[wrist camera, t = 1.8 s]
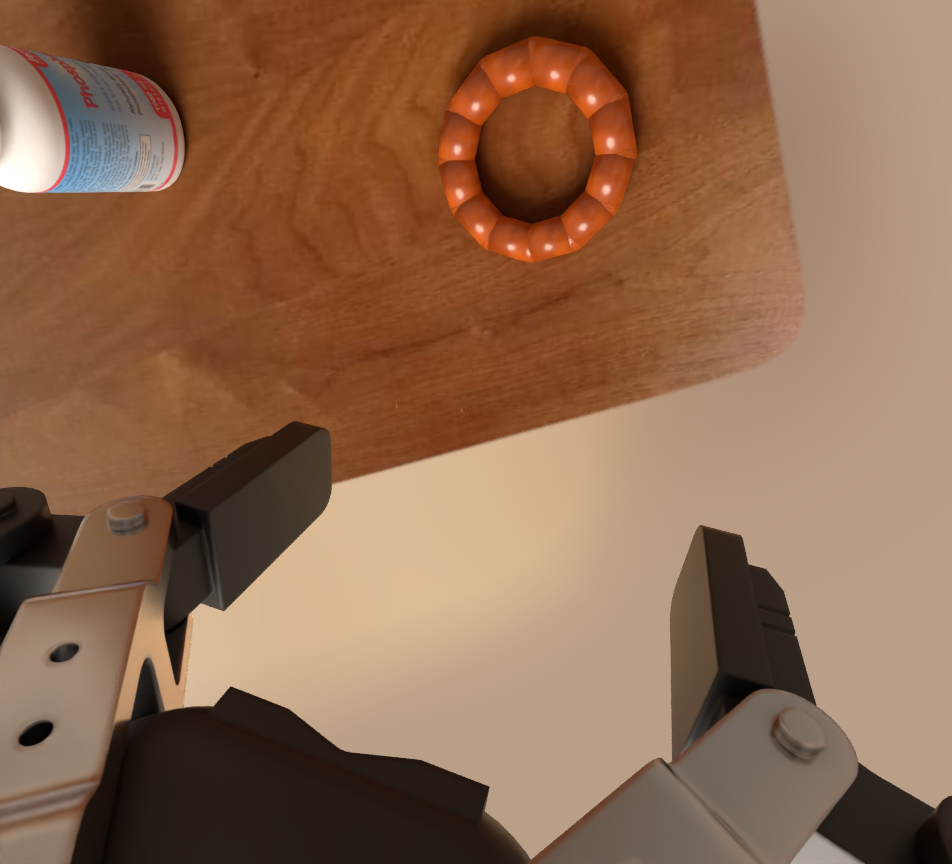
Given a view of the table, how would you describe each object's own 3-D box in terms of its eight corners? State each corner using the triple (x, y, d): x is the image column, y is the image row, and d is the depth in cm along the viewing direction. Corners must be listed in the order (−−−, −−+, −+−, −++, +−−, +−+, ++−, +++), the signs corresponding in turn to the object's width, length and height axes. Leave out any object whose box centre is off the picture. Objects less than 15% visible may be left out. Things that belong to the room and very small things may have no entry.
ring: (469, 24, 25) (456, 13, 23) (666, 69, 23) (667, 61, 22) (431, 230, 29) (419, 232, 28) (596, 279, 28) (593, 285, 26)
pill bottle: (193, 93, 30) (-31, 49, 20) (187, 205, 33) (-11, 215, 23) (103, 57, 31) (-155, -1, 21) (105, 171, 34) (-121, 165, 24)
